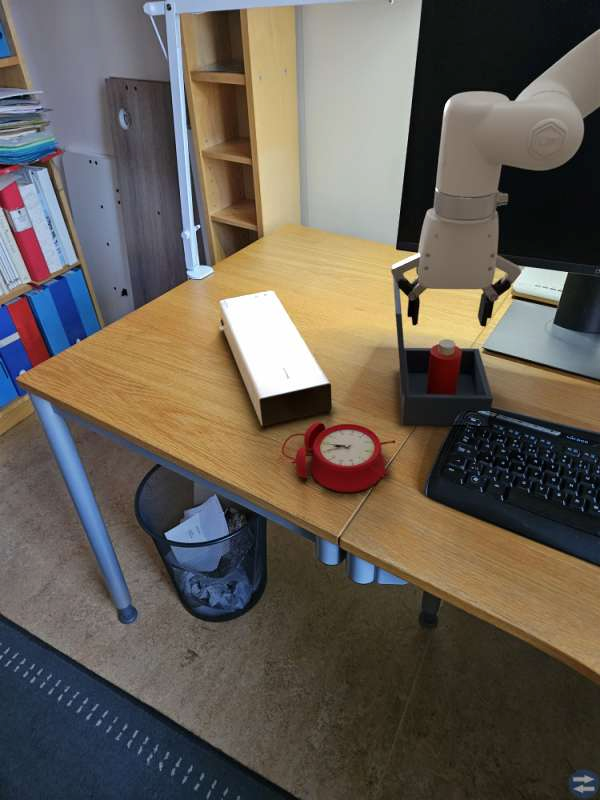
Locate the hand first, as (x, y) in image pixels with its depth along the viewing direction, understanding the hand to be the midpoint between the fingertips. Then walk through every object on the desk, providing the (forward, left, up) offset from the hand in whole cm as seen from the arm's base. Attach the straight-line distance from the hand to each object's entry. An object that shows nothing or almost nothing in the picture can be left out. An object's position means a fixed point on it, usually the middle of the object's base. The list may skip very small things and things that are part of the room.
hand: (447, 321), depth 81 cm
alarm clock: (+16, +16, -14) cm, 27 cm away
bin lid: (+6, 0, -2) cm, 7 cm away
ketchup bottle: (0, 0, -13) cm, 13 cm away
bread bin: (0, 0, -14) cm, 14 cm away
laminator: (+29, -8, -14) cm, 33 cm away
